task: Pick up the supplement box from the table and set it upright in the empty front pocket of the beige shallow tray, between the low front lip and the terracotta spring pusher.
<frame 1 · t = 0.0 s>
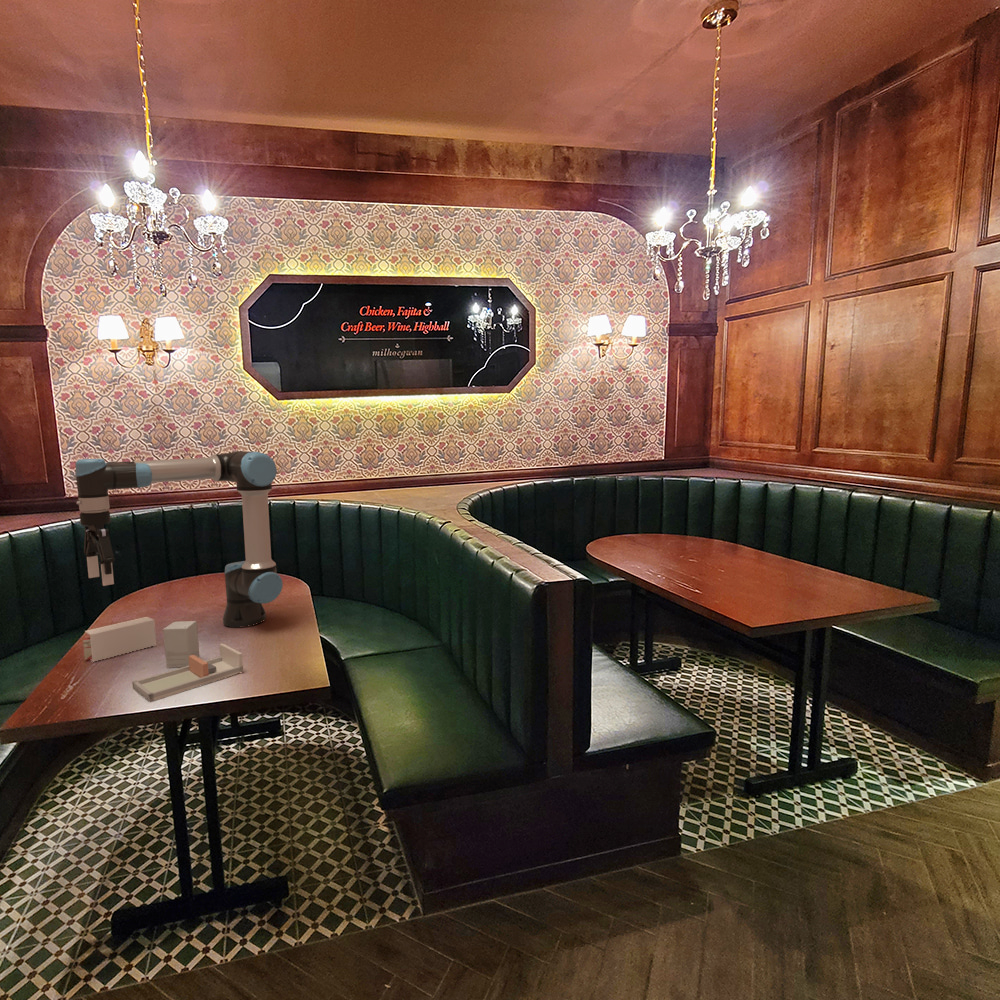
hand: (101, 581, 185), 28 cm above the table, tool pointing down, fingers open, 13 cm apart
pusher: (204, 664, 183), point 3 cm above the table, slide at 0.0 cm
cigarette display: (120, 653, 203), on the table
supplement box: (183, 663, 194), on the table
beige shallow tray: (189, 680, 181), on the table
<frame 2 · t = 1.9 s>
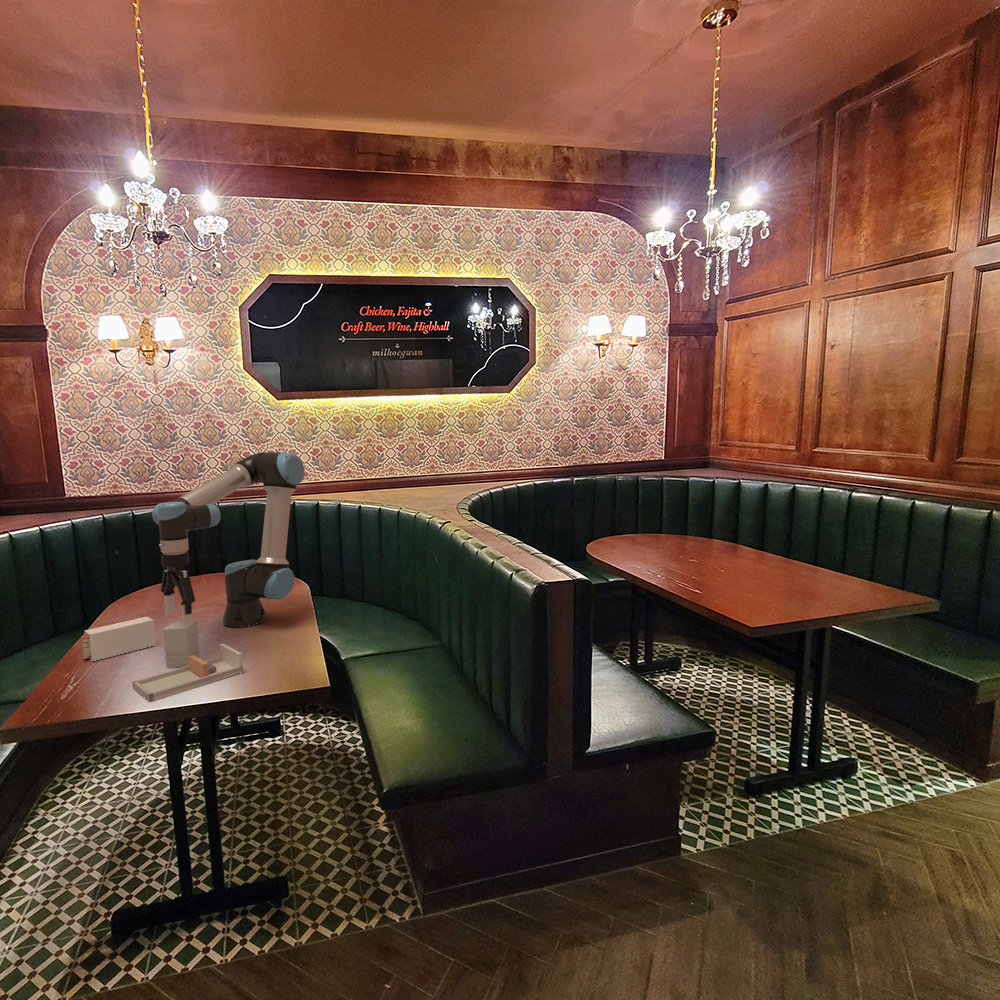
hand: (179, 619, 191), 14 cm above the table, tool pointing down, fingers open, 13 cm apart
nothing on the table moved.
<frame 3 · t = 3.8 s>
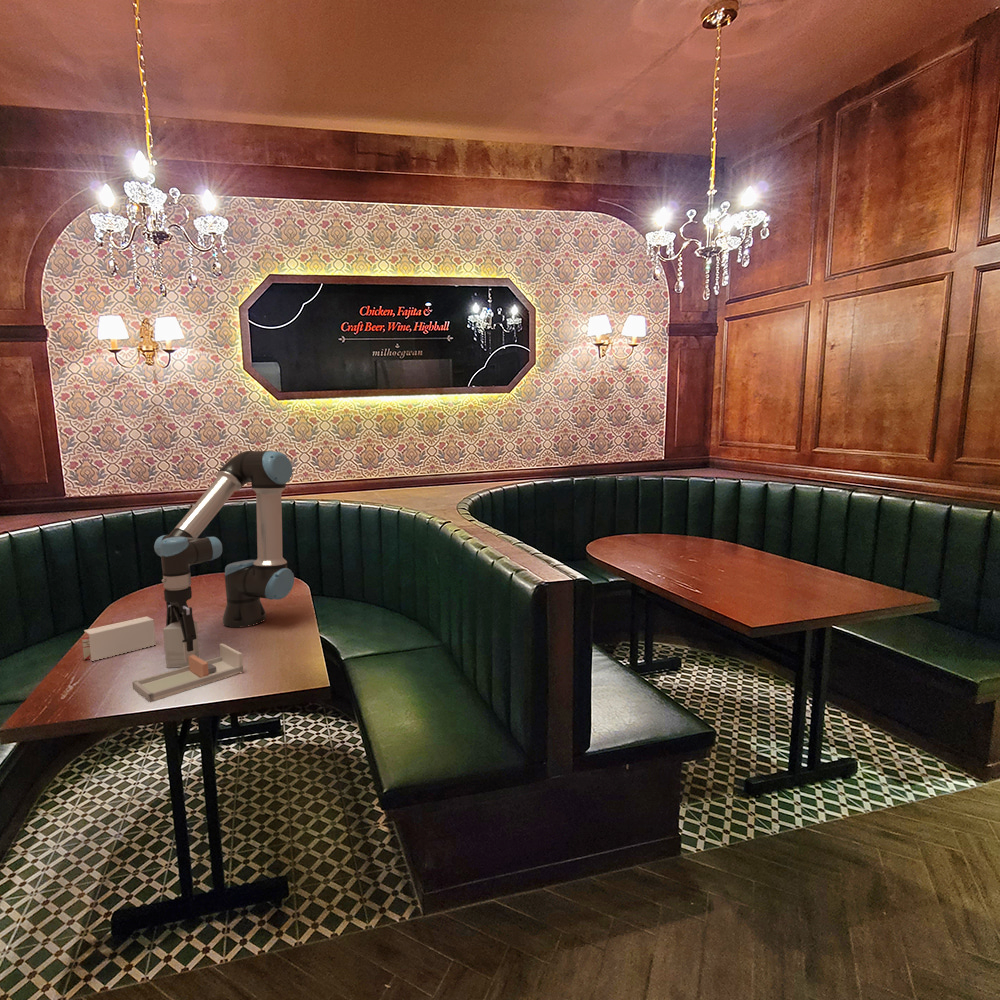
hand: (182, 656, 193), 2 cm above the table, tool pointing down, fingers closed on supplement box, 10 cm apart
supplement box: (183, 663, 194), on the table, touching gripper
everything else where it was.
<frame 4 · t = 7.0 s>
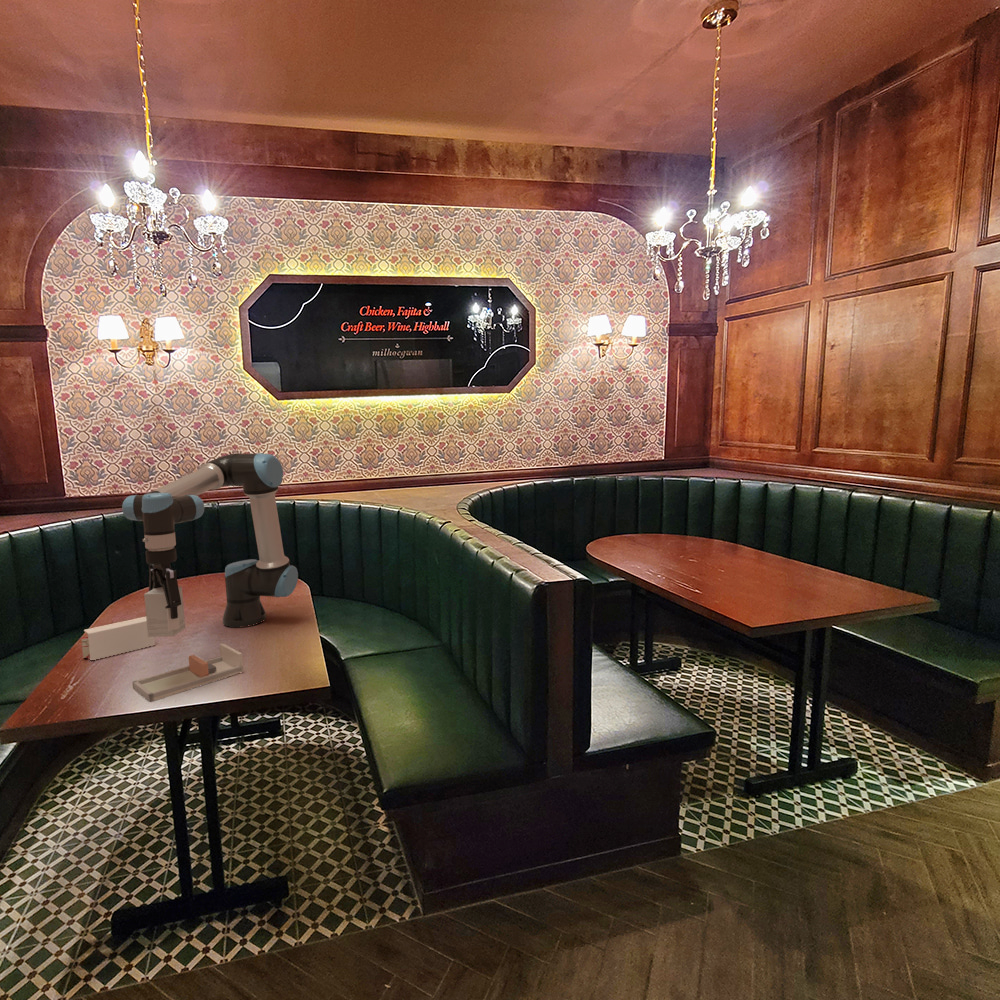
hand: (166, 625, 175), 18 cm above the table, tool pointing down, fingers closed on supplement box, 10 cm apart
supplement box: (167, 633, 175), point 16 cm above the table, touching gripper
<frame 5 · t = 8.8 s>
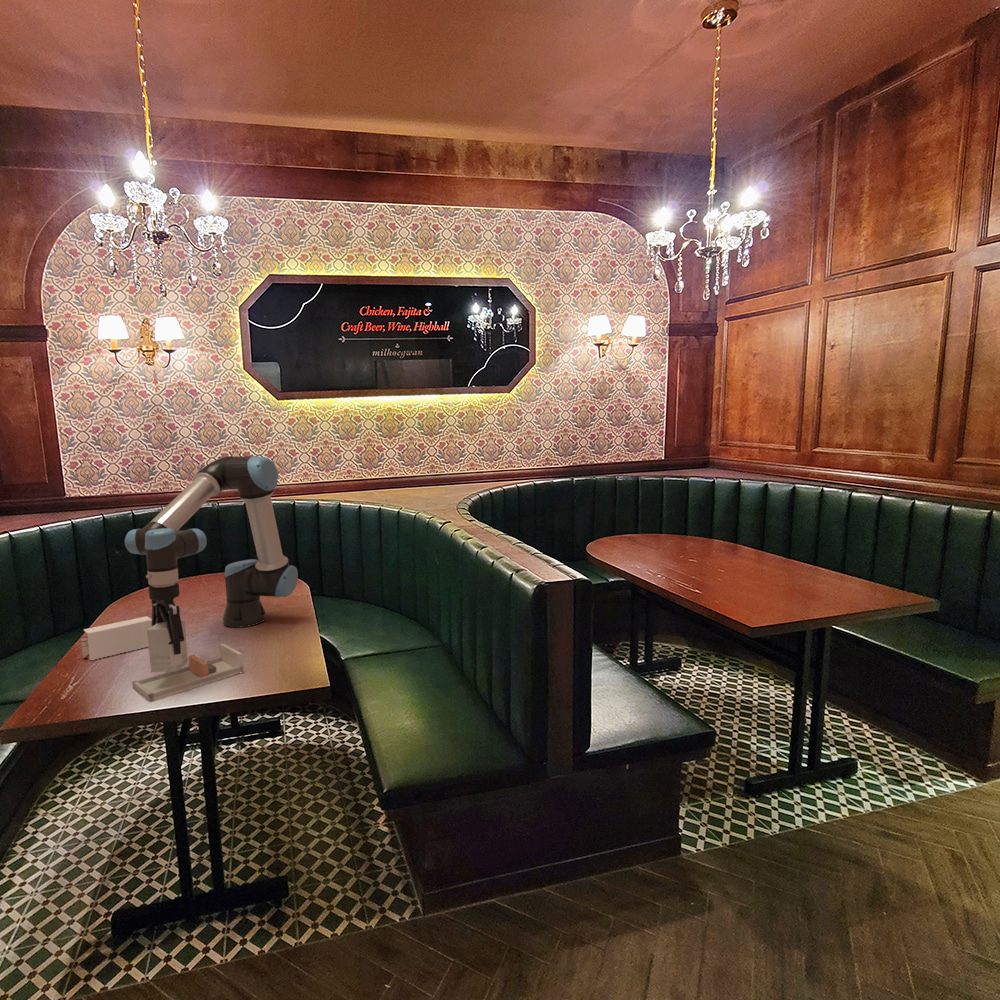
hand: (169, 659, 176), 8 cm above the table, tool pointing down, fingers closed on supplement box, 10 cm apart
supplement box: (169, 668, 176), point 5 cm above the table, touching gripper
when the fingers open (5 cm above the table, at t = 10.4 s): supplement box drops 1 cm, resting on beige shallow tray.
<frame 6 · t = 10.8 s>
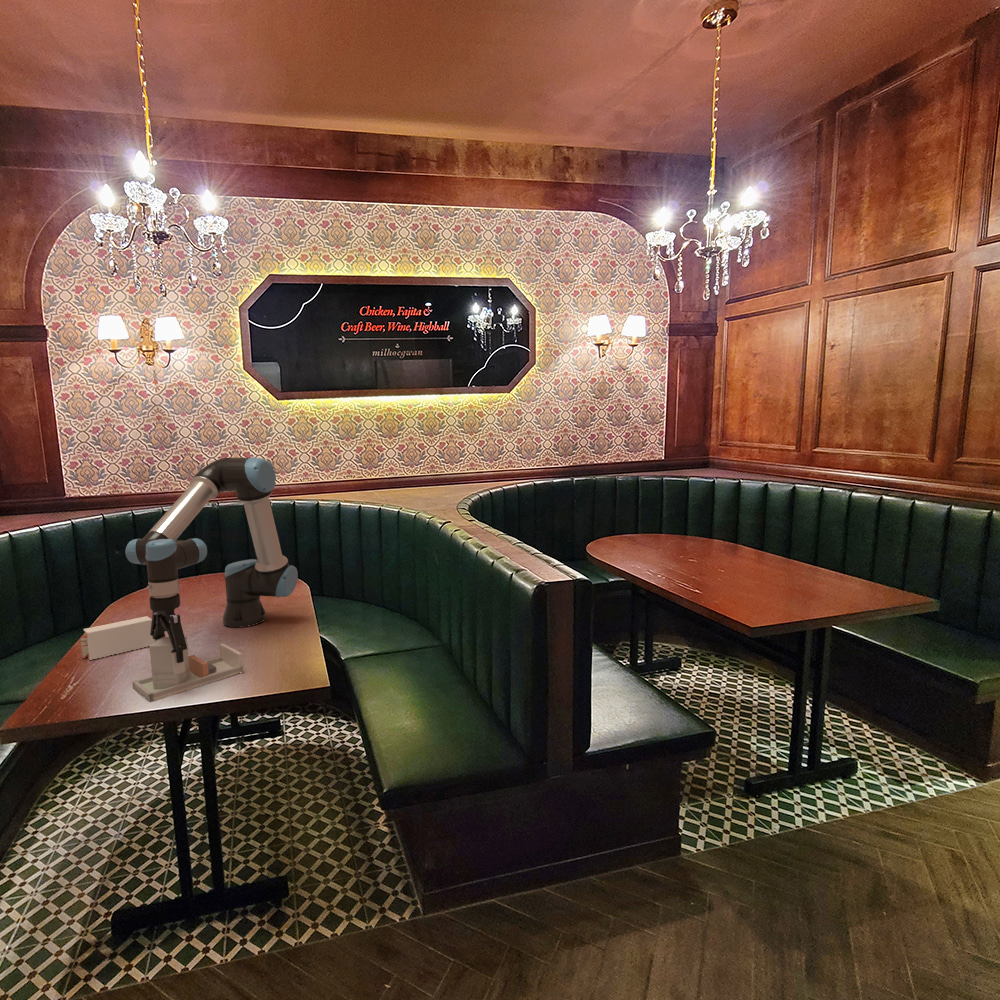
hand: (170, 666, 176), 6 cm above the table, tool pointing down, fingers open, 13 cm apart
supplement box: (172, 683, 177), point 1 cm above the table, touching beige shallow tray
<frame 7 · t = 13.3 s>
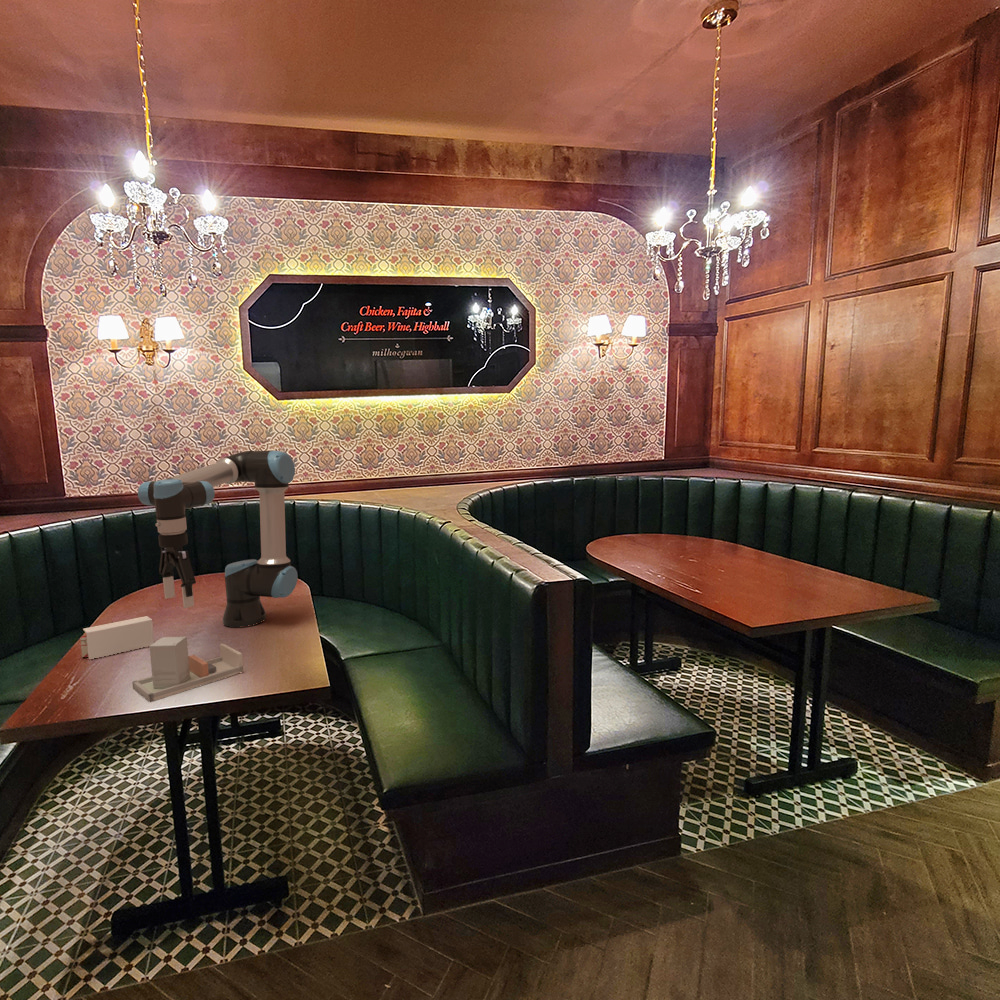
hand: (179, 602, 183), 22 cm above the table, tool pointing down, fingers open, 13 cm apart
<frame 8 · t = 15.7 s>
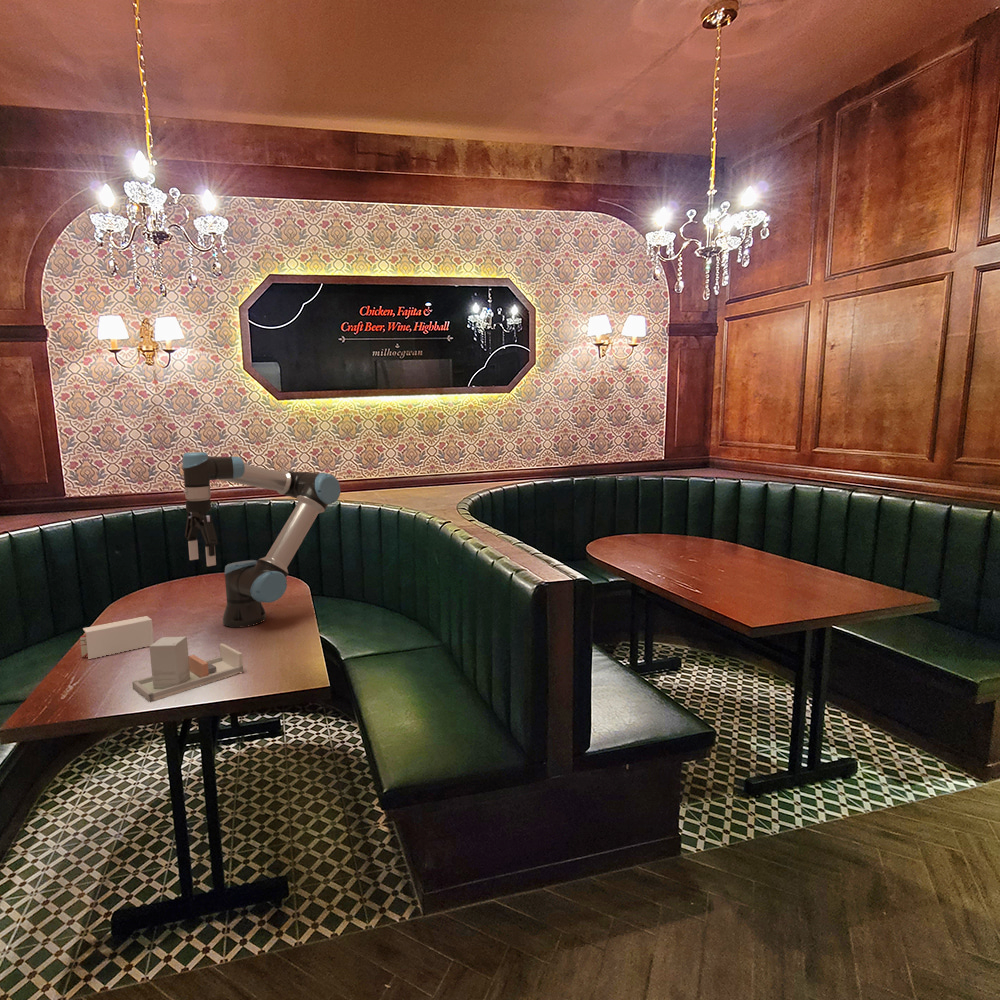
hand: (202, 562, 205), 29 cm above the table, tool pointing down, fingers open, 13 cm apart
at the end: supplement box inside the target area (0.3 cm from its centre), point 0.7 cm above the table; supplement box tilted 0°; the gripper is holding nothing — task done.
